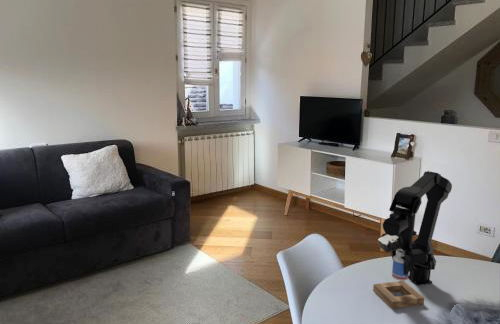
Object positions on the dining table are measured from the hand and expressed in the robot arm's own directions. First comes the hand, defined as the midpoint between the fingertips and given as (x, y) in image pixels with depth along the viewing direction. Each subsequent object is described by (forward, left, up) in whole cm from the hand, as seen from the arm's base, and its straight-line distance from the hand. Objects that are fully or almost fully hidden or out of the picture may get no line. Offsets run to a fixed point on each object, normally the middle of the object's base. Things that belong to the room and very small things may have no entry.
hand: (400, 270), depth 148 cm
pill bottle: (0, 0, -3) cm, 3 cm away
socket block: (0, 0, -10) cm, 10 cm away
